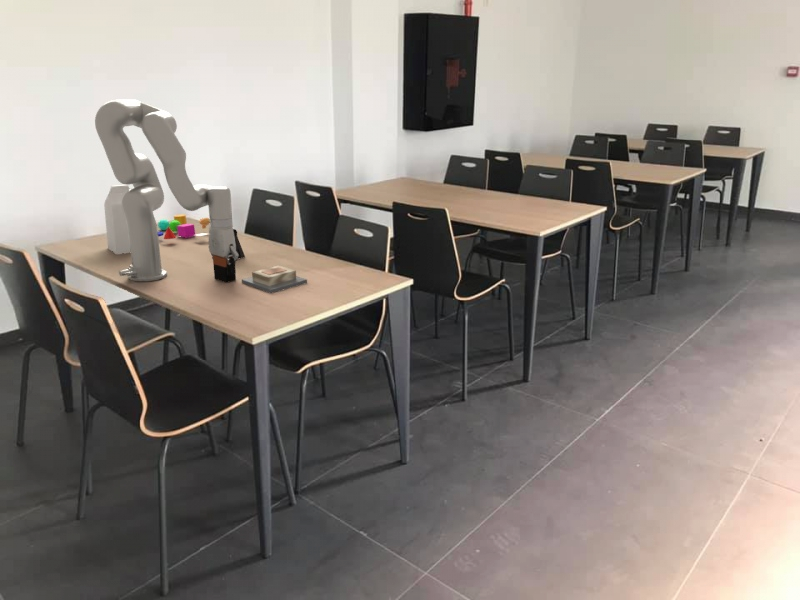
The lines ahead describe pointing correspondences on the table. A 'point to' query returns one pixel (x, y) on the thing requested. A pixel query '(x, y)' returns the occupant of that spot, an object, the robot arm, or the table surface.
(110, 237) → the milk
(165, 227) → the shape set
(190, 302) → the table surface
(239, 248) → the phone stand
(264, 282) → the plinth
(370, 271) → the table surface
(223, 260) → the battery
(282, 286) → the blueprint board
